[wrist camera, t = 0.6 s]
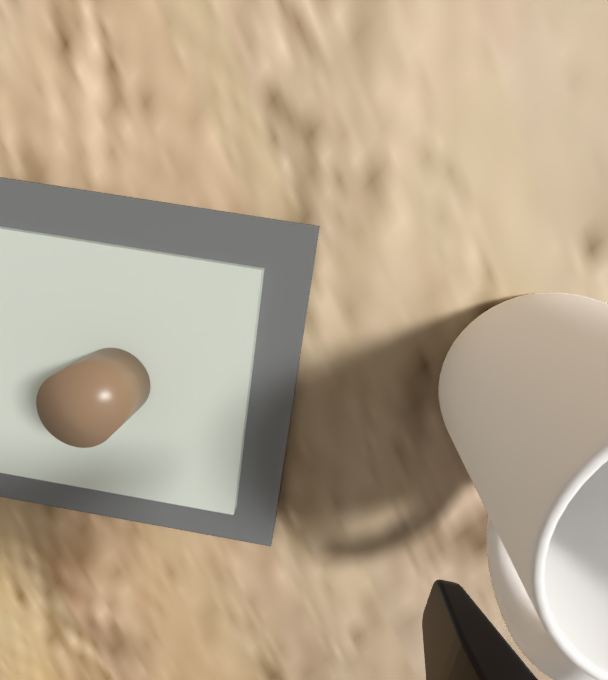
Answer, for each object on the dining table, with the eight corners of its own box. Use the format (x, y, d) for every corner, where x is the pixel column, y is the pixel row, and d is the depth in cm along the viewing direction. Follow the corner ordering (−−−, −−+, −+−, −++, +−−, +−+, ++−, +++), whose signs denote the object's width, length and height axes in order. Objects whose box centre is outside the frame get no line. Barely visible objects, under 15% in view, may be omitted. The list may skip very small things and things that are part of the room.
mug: (551, 546, 21) (739, 843, 11) (387, 504, 21) (427, 761, 11) (668, 315, 17) (1098, 446, 7) (470, 266, 17) (637, 332, 8)
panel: (236, 507, 21) (216, 563, 18) (6, 465, 22) (-57, 512, 18) (264, 268, 18) (245, 280, 14) (-11, 224, 18) (-93, 227, 15)
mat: (272, 540, 22) (270, 546, 22) (-22, 486, 23) (-28, 491, 22) (319, 226, 17) (319, 226, 17) (-52, 169, 18) (-60, 168, 18)
